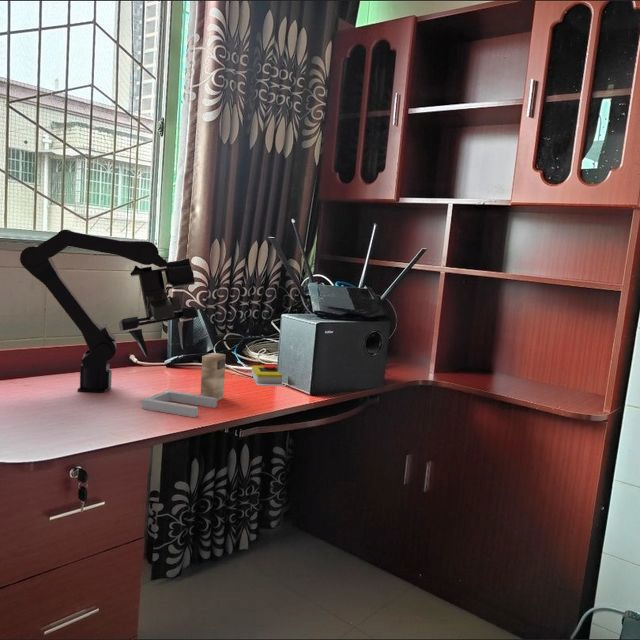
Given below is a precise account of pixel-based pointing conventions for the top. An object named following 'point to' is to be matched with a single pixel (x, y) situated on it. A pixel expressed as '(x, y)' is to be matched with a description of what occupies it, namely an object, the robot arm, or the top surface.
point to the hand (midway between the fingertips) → (165, 352)
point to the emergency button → (266, 375)
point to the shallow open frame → (161, 404)
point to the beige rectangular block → (213, 375)
